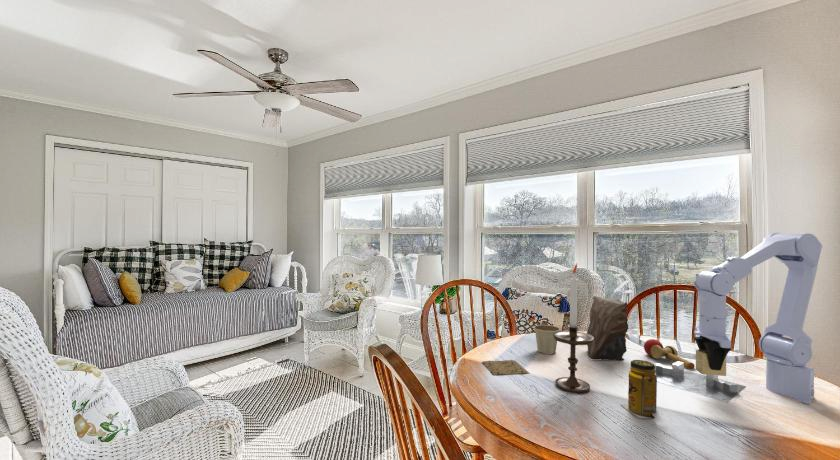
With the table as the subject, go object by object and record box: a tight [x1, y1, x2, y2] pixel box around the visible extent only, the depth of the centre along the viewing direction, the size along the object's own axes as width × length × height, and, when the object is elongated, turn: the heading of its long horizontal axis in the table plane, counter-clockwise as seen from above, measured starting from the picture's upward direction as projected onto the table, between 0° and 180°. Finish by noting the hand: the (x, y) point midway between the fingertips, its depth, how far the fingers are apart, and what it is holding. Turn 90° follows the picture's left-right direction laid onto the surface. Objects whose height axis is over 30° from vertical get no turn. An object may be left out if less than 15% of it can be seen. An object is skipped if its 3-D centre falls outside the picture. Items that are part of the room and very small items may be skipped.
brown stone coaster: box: [481, 359, 530, 376], centre depth 125 cm, size 12×12×1 cm
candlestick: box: [553, 263, 594, 394], centre depth 110 cm, size 11×11×35 cm
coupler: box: [695, 348, 727, 377], centre depth 105 cm, size 6×4×6 cm, turn 77°
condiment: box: [621, 359, 658, 420], centre depth 96 cm, size 7×8×12 cm
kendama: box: [643, 338, 696, 370], centre depth 132 cm, size 8×6×18 cm
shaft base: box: [654, 361, 747, 403], centre depth 113 cm, size 21×17×4 cm
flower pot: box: [532, 324, 562, 355], centre depth 141 cm, size 9×9×9 cm
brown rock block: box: [586, 295, 629, 361], centre depth 138 cm, size 13×13×20 cm
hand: (711, 367), depth 105 cm, fingers closed on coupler, 4 cm apart
